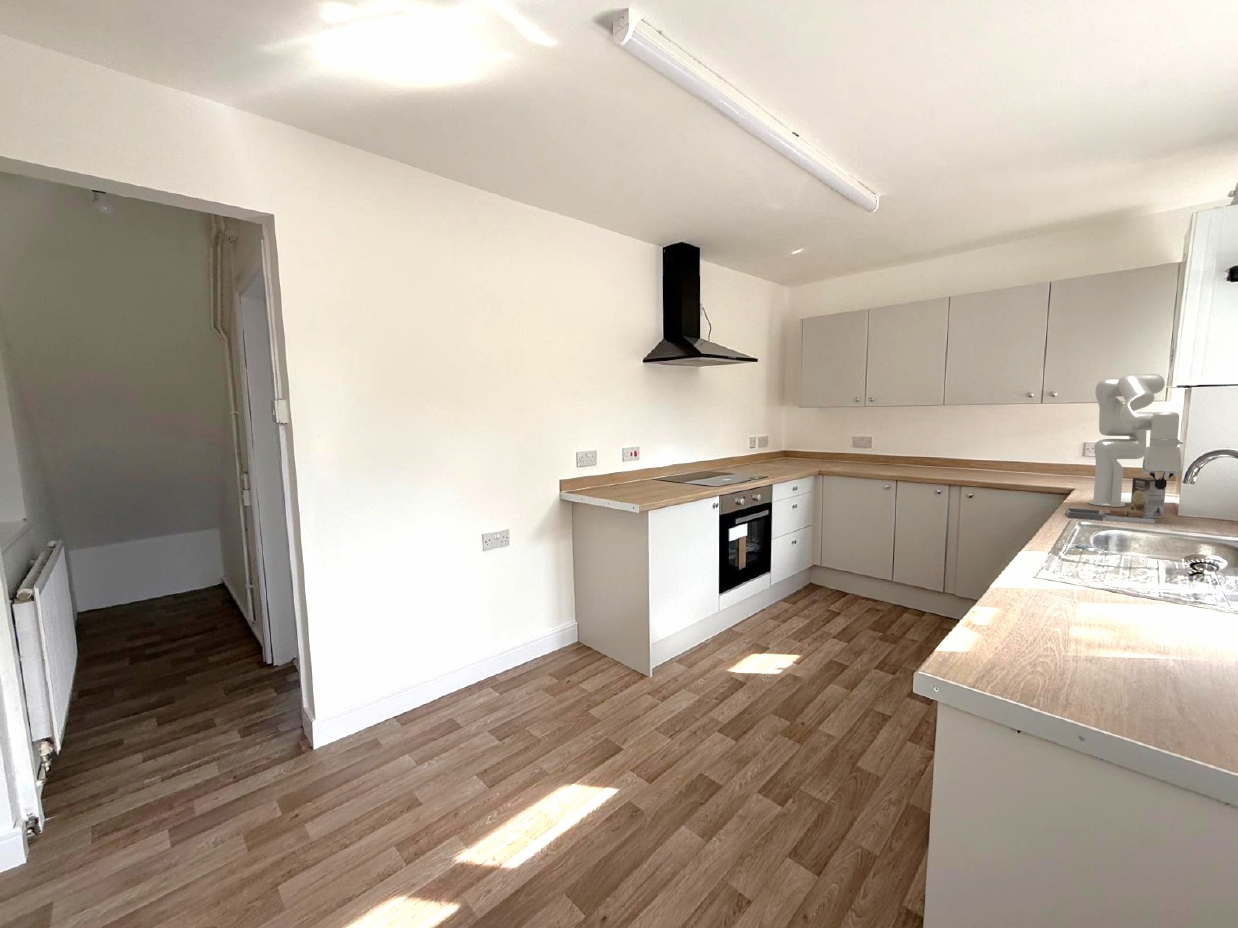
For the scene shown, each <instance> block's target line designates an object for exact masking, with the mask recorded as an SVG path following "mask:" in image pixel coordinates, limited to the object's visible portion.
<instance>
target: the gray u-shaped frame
mask: <svg viewBox="0 0 1238 928" xmlns="http://www.w3.org/2000/svg"><path fill="white" fill-rule="evenodd" d="M1064 510H1065V511H1064V513H1065V515H1066V516H1067V518H1068V519H1080V520H1081V519H1082V520H1093V521H1094V520H1095V521H1103V520H1104V517H1103V514H1102V513H1100V510H1098V509H1085V508H1073V507H1065V509H1064Z"/></svg>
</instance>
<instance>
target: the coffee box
mask: <svg viewBox="0 0 1238 928" xmlns="http://www.w3.org/2000/svg"><path fill="white" fill-rule="evenodd" d="M1166 488H1167V487H1166ZM1166 488H1164V490H1162V489H1160V490H1158V489H1156V487H1155V479H1154V478H1153V477H1133V478H1132V488H1131V496H1130V497H1131V498H1130V509H1129V510H1134V511H1141V512H1143V515H1149V516H1150V519H1163V518H1164V508H1165V500H1166V499H1165V498H1166Z"/></svg>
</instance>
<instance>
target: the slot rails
mask: <svg viewBox="0 0 1238 928" xmlns="http://www.w3.org/2000/svg"><path fill="white" fill-rule="evenodd" d="M1101 514H1103V518H1104V519H1105V521H1112V522H1113V521H1114V522H1125V523H1136V524H1138V523H1139V524H1147V525H1148V524H1150V525H1152V524H1153V525H1155V522H1156V520H1155V519H1156V518H1150V516H1149V515H1143V516H1142V518H1136V517H1126V515H1127V513H1125V517H1122V516H1110V512H1104V511H1103V512H1101Z"/></svg>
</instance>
